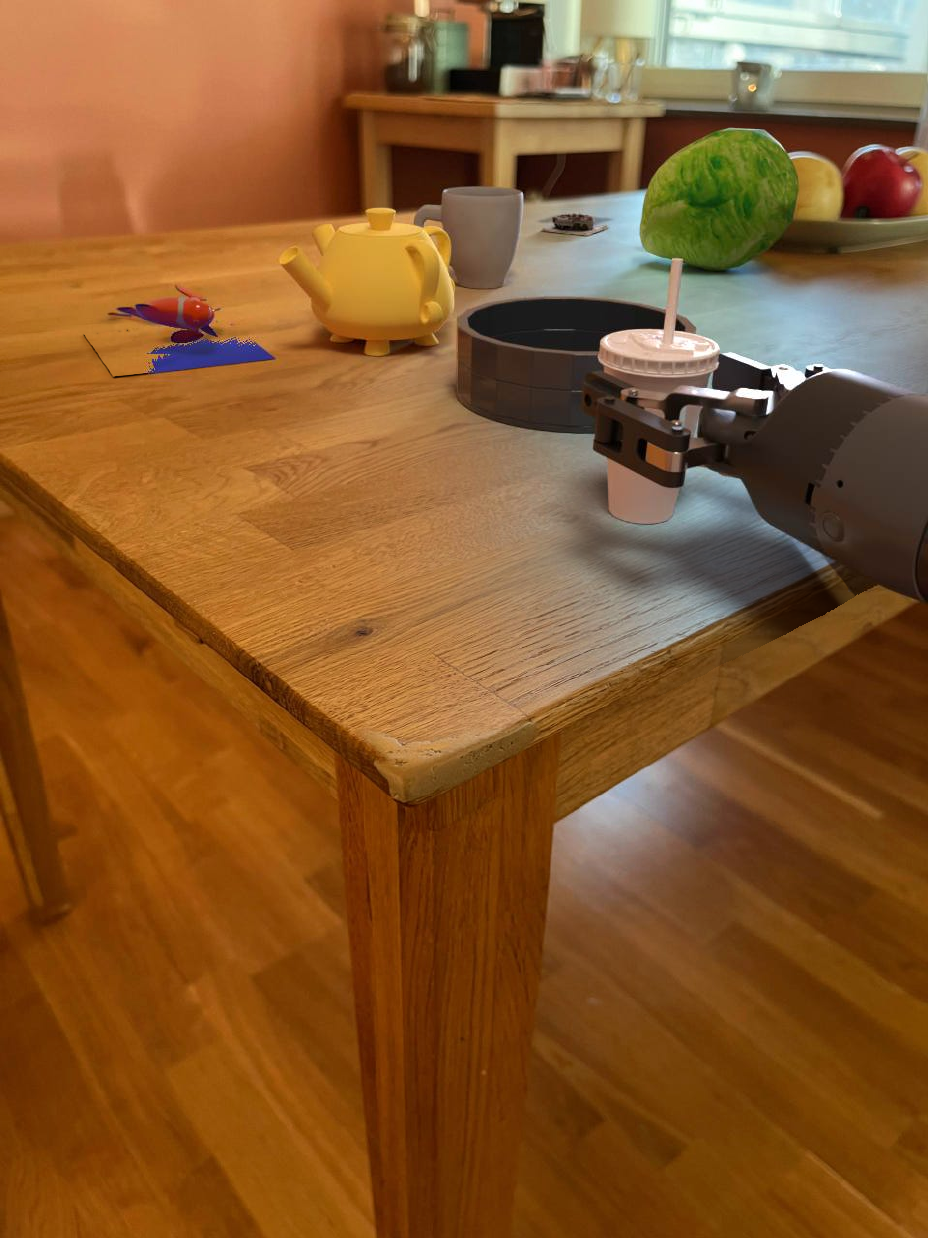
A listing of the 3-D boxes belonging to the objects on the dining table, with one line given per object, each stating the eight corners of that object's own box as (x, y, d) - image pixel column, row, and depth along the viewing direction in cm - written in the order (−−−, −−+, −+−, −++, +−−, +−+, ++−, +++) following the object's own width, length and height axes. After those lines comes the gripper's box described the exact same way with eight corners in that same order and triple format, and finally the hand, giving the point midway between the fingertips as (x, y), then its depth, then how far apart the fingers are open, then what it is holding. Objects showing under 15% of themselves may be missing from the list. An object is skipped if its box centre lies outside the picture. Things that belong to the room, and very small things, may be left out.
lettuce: (705, 245, 133) (634, 145, 125) (843, 180, 118) (771, 62, 110) (665, 330, 126) (586, 230, 118) (805, 274, 110) (725, 154, 103)
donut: (562, 223, 150) (563, 208, 148) (610, 228, 146) (611, 213, 145) (538, 230, 143) (538, 215, 142) (586, 235, 140) (588, 220, 139)
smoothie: (640, 544, 53) (671, 274, 46) (562, 504, 58) (580, 253, 51) (720, 516, 56) (760, 261, 49) (640, 481, 61) (667, 242, 54)
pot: (658, 362, 84) (665, 296, 81) (712, 432, 69) (724, 354, 66) (452, 362, 83) (453, 295, 80) (461, 433, 68) (462, 354, 65)
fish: (234, 291, 81) (127, 300, 77) (239, 349, 83) (136, 361, 80) (195, 264, 91) (98, 271, 87) (201, 316, 93) (107, 325, 90)
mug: (521, 276, 114) (524, 187, 110) (518, 293, 107) (522, 197, 102) (418, 273, 115) (418, 184, 110) (409, 289, 108) (407, 194, 103)
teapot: (320, 318, 96) (312, 194, 90) (459, 323, 95) (461, 198, 89) (284, 360, 83) (272, 219, 78) (444, 366, 82) (444, 224, 77)
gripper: (1031, 375, 42) (768, 297, 54) (774, 422, 36) (546, 322, 48) (981, 535, 45) (746, 427, 58) (742, 600, 40) (538, 465, 52)
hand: (655, 380), depth 53 cm, fingers open, 8 cm apart
